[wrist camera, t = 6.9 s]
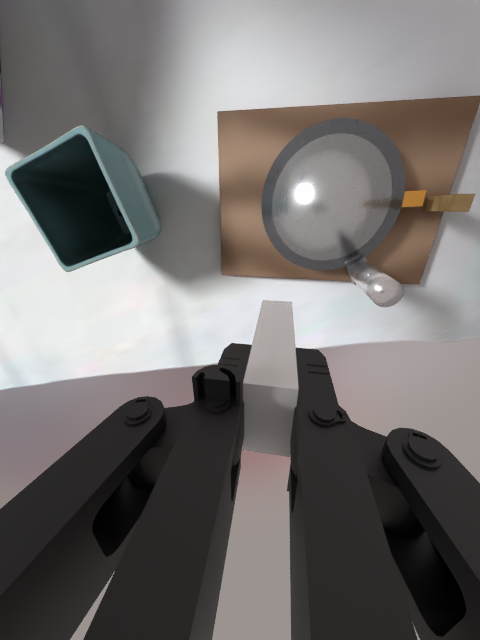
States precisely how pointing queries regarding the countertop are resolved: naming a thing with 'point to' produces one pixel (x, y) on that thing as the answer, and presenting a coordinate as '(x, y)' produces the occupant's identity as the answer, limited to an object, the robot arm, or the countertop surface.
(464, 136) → the base
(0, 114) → the cake pan box
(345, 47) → the countertop surface
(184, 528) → the robot arm
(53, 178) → the flower pot
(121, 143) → the countertop surface
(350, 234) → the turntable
